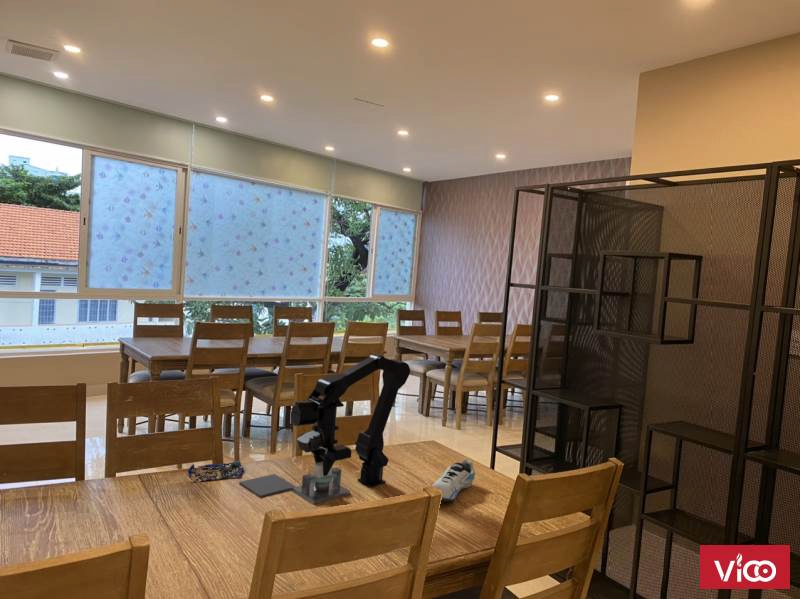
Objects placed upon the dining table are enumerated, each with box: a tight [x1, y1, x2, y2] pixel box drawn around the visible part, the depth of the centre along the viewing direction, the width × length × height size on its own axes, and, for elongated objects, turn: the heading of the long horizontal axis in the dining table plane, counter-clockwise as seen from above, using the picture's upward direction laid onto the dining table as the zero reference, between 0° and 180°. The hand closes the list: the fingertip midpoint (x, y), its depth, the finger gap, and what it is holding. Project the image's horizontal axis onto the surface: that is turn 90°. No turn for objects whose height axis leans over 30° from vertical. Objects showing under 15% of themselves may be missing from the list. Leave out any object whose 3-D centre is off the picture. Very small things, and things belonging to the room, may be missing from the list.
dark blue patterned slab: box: [187, 460, 245, 483], centre depth 175 cm, size 16×12×2 cm
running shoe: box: [431, 458, 476, 503], centre depth 173 cm, size 9×25×9 cm, turn 152°
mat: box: [239, 473, 297, 498], centre depth 168 cm, size 12×12×1 cm
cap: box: [310, 462, 337, 483], centre depth 166 cm, size 10×6×5 cm, turn 134°
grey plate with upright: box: [291, 467, 351, 505], centre depth 166 cm, size 13×11×6 cm
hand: (322, 474), depth 166 cm, fingers closed on cap, 2 cm apart
